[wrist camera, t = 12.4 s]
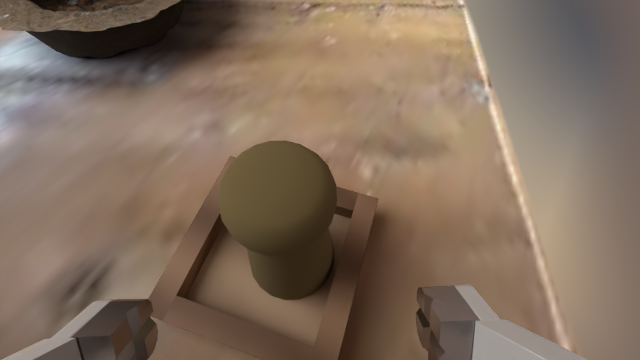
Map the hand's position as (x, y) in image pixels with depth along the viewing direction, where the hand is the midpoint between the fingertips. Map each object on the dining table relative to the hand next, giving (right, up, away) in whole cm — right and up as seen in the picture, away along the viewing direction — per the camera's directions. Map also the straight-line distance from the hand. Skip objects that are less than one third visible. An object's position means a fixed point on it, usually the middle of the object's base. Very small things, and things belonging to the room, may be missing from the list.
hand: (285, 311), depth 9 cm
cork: (-1, -1, +13) cm, 13 cm away
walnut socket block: (-2, -2, +13) cm, 13 cm away
